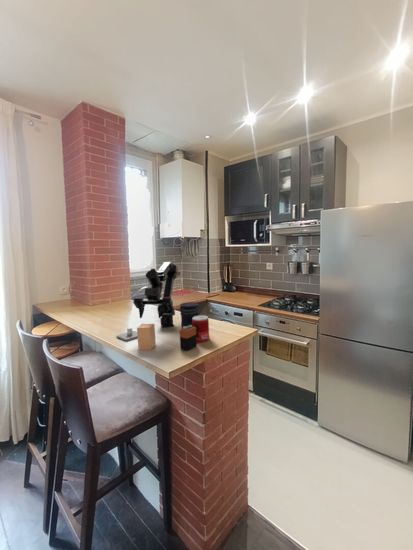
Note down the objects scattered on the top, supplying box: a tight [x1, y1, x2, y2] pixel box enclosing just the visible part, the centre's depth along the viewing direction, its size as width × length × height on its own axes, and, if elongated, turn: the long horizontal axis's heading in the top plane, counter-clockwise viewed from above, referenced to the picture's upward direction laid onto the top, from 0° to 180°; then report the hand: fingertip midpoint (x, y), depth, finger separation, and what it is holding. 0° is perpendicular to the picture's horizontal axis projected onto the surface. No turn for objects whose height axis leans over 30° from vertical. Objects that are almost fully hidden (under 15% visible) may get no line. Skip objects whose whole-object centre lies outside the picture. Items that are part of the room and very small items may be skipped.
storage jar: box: [179, 301, 200, 329], centre depth 137 cm, size 10×10×15 cm
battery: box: [178, 325, 198, 352], centre depth 115 cm, size 4×7×10 cm, turn 143°
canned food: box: [192, 314, 210, 343], centre depth 124 cm, size 8×8×11 cm
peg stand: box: [115, 327, 138, 342], centre depth 134 cm, size 10×10×4 cm
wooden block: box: [136, 323, 157, 351], centre depth 118 cm, size 6×6×10 cm
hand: (149, 317), depth 123 cm, fingers open, 9 cm apart
